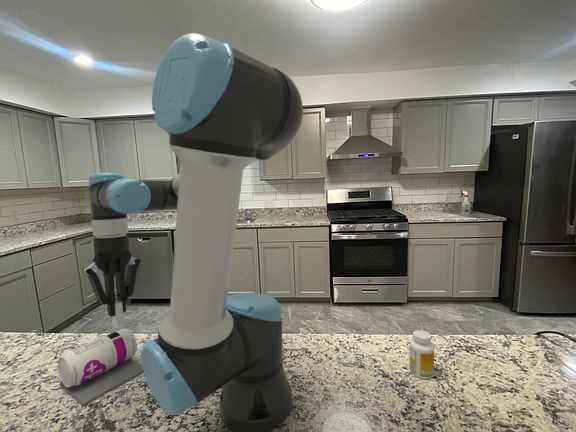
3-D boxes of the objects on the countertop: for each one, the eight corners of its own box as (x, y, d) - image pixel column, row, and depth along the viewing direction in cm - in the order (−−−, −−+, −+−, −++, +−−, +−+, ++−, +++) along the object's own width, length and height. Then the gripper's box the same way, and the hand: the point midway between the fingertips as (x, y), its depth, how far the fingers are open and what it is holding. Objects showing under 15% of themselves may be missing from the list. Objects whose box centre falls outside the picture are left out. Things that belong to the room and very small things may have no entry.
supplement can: (141, 340, 73) (74, 372, 61) (134, 362, 76) (69, 397, 63) (125, 321, 77) (59, 347, 64) (119, 342, 79) (55, 371, 67)
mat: (146, 370, 71) (146, 368, 71) (82, 406, 59) (82, 404, 59) (121, 355, 78) (120, 353, 78) (59, 384, 66) (59, 382, 66)
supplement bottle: (436, 371, 67) (437, 333, 67) (430, 383, 63) (430, 342, 63) (413, 362, 71) (414, 326, 70) (406, 373, 67) (406, 334, 66)
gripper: (130, 231, 76) (135, 313, 78) (74, 238, 66) (82, 333, 67) (145, 233, 72) (150, 319, 74) (87, 240, 62) (96, 342, 63)
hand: (118, 326), depth 71 cm, fingers closed
